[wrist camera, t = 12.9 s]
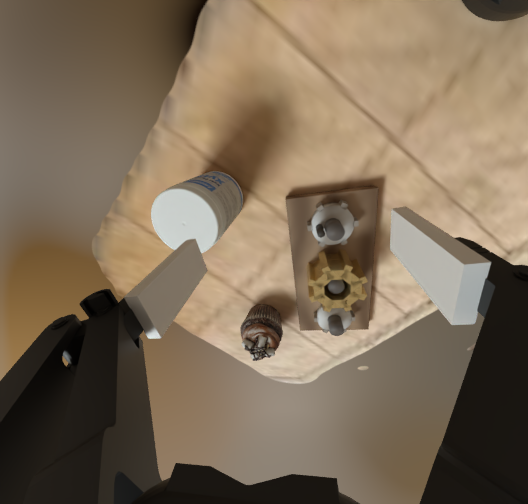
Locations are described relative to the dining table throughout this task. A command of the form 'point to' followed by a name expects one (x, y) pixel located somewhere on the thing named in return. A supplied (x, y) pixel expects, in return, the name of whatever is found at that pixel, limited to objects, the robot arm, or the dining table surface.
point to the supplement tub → (197, 210)
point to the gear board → (332, 250)
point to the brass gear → (335, 269)
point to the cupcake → (261, 332)
